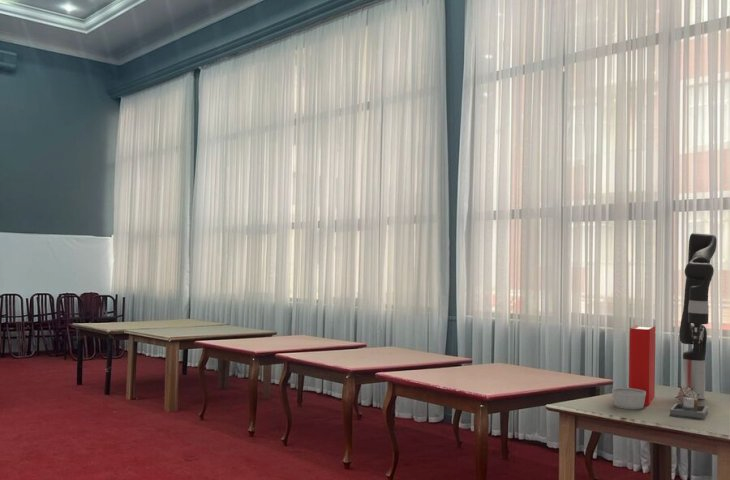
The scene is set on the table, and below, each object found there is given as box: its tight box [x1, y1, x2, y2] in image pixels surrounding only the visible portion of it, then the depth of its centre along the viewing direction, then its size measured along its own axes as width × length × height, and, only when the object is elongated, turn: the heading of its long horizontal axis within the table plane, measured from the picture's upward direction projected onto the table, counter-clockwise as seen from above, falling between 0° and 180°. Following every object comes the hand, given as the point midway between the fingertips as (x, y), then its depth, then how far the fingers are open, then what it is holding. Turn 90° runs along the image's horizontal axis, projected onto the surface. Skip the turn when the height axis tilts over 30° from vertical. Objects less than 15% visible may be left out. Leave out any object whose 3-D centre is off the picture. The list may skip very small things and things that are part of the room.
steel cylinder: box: [683, 398, 694, 412], centre depth 280 cm, size 4×4×6 cm
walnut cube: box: [684, 397, 699, 412], centre depth 286 cm, size 5×5×5 cm
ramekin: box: [611, 387, 646, 410], centre depth 295 cm, size 13×13×7 cm
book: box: [628, 324, 656, 407], centre depth 312 cm, size 27×8×32 cm, turn 153°
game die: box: [675, 386, 700, 403], centre depth 303 cm, size 9×8×10 cm
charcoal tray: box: [669, 402, 709, 421], centre depth 283 cm, size 18×12×2 cm, turn 149°
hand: (697, 351), depth 290 cm, fingers open, 8 cm apart
